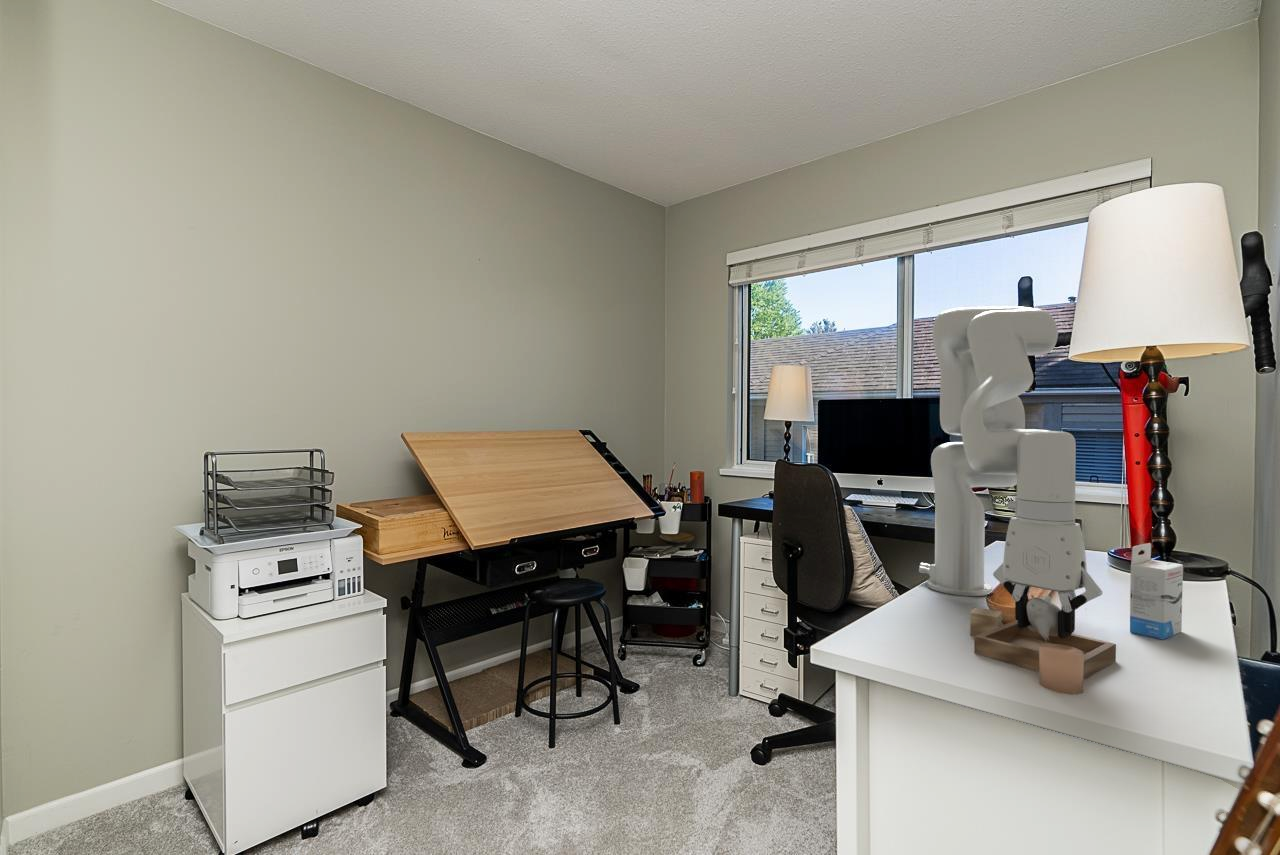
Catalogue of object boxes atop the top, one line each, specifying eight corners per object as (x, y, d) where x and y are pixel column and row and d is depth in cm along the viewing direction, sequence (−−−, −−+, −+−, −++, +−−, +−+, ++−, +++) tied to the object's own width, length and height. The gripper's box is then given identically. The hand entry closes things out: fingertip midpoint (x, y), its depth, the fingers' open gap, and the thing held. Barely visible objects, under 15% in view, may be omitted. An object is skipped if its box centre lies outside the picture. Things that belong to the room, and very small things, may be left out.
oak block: (970, 636, 106) (970, 612, 106) (975, 630, 109) (975, 607, 109) (997, 641, 103) (997, 617, 103) (1001, 635, 106) (1001, 611, 106)
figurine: (1071, 652, 93) (1048, 621, 91) (1028, 651, 98) (1005, 622, 95) (1072, 605, 98) (1049, 575, 95) (1031, 607, 102) (1008, 578, 100)
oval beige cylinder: (1032, 684, 86) (1032, 648, 86) (1048, 676, 89) (1048, 640, 89) (1074, 697, 82) (1074, 659, 82) (1089, 688, 85) (1089, 651, 85)
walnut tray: (974, 652, 98) (974, 636, 98) (1016, 635, 106) (1016, 620, 106) (1078, 683, 86) (1078, 664, 86) (1115, 661, 95) (1115, 643, 95)
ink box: (1164, 640, 104) (1165, 551, 104) (1128, 632, 108) (1129, 546, 108) (1183, 631, 109) (1184, 546, 108) (1148, 624, 113) (1149, 541, 113)
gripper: (976, 507, 101) (975, 621, 101) (1101, 521, 87) (1100, 653, 87) (998, 504, 105) (997, 613, 105) (1121, 516, 91) (1120, 642, 91)
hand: (1044, 630), depth 96 cm, fingers closed on figurine, 4 cm apart
